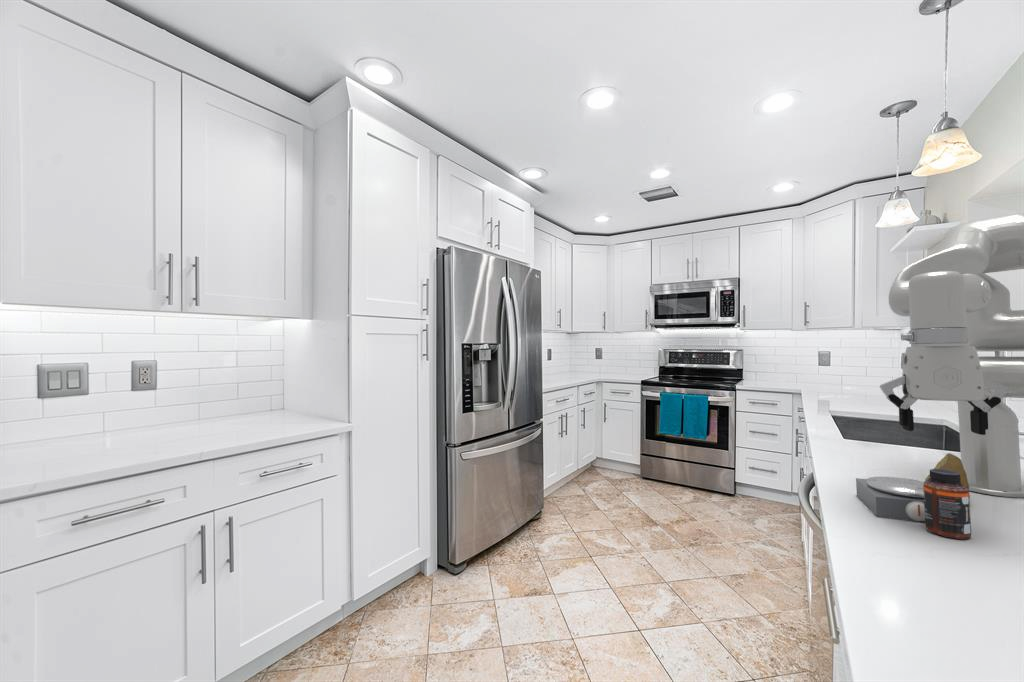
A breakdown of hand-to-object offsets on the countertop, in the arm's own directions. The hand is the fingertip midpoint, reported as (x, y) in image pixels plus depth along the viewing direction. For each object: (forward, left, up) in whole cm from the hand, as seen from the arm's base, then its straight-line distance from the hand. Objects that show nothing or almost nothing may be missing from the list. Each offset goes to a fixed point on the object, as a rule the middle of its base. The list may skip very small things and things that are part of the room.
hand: (942, 431), depth 79 cm
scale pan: (-12, -2, -15) cm, 20 cm away
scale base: (-12, -2, -19) cm, 22 cm away
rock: (-24, +8, -19) cm, 32 cm away
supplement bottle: (0, 0, -19) cm, 19 cm away
